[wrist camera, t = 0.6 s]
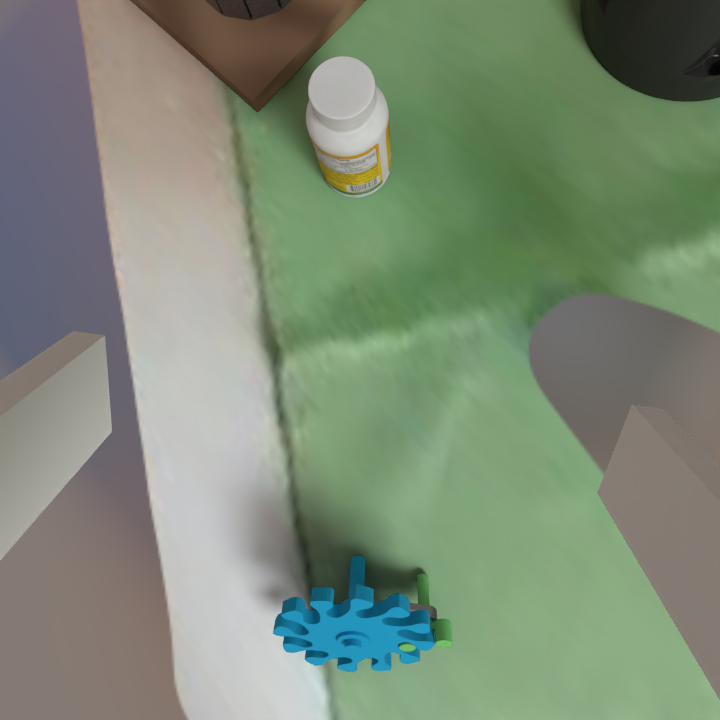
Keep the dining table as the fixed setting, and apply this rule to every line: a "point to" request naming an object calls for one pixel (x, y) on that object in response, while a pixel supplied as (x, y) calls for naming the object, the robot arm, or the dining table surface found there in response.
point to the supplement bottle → (349, 126)
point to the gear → (362, 625)
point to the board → (251, 40)
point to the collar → (247, 7)
